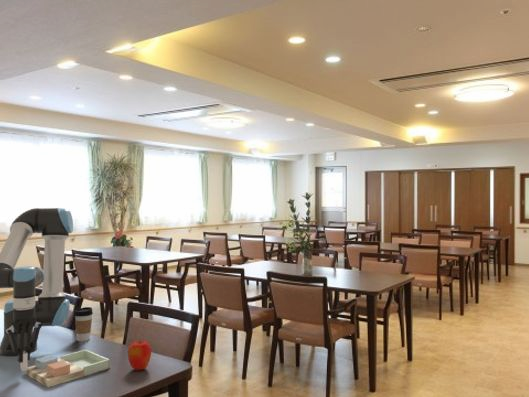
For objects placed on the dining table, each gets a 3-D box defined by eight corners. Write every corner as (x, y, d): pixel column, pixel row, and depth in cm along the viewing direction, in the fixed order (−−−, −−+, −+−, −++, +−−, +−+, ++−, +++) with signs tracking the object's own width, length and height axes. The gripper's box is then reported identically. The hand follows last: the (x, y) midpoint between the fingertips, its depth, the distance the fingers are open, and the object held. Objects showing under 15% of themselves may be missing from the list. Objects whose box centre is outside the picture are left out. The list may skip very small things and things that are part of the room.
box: (60, 364, 190) (60, 356, 190) (85, 357, 198) (85, 349, 198) (84, 376, 178) (84, 367, 178) (109, 368, 186) (109, 359, 186)
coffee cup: (96, 338, 225) (96, 308, 225) (81, 343, 218) (81, 311, 218) (85, 336, 229) (85, 306, 229) (70, 340, 222) (70, 309, 222)
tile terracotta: (46, 372, 174) (47, 365, 174) (62, 368, 179) (62, 360, 179) (54, 376, 170) (54, 368, 170) (70, 372, 175) (70, 364, 175)
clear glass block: (35, 366, 181) (35, 359, 181) (50, 362, 185) (50, 355, 185) (42, 370, 177) (42, 362, 177) (57, 366, 181) (57, 358, 181)
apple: (122, 370, 184) (123, 340, 184) (140, 364, 191) (140, 335, 191) (138, 375, 178) (138, 344, 178) (155, 368, 186) (156, 339, 186)
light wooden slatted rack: (25, 374, 179) (25, 367, 179) (60, 364, 190) (60, 358, 190) (48, 387, 167) (48, 380, 167) (84, 376, 178) (84, 369, 178)
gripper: (10, 312, 167) (9, 377, 167) (46, 306, 177) (45, 367, 177) (1, 309, 172) (1, 372, 172) (37, 303, 182) (37, 362, 182)
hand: (23, 369), depth 174 cm, fingers closed
